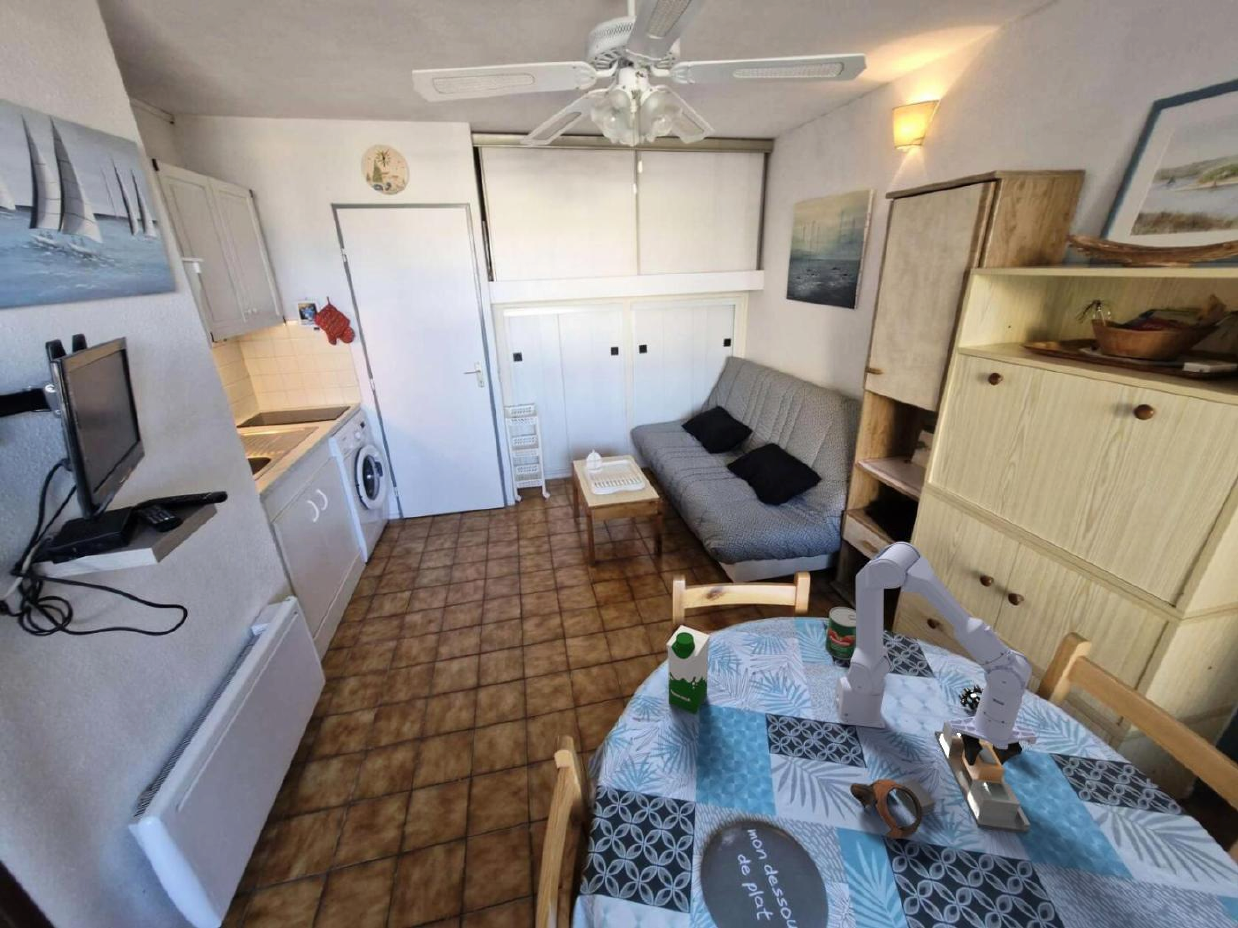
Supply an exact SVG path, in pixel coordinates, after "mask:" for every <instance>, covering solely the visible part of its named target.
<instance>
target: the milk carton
mask: <svg viewBox="0 0 1238 928" xmlns="http://www.w3.org/2000/svg"><path fill="white" fill-rule="evenodd" d="M710 638H711V635H709V634H707V633H705V632H702V631H698V630H696V629H693V628H691V627H688V626H686V625H685V626H684V625H682V624H681V625H680V626H679V627H678V629H677V630H676V631H675V632H673V635H672V636H671V638H670V639H669V640H668V641H667V643H666V649H667V654H668V655H667V656H668V657H667V663H668V669H667V670H668V672H667V673H668V703H669V704H671V705H673V706H675V707H677V708H681V709H682V710H683V711H687V712H688V711H689V712H688V713H691V714H693V715H696V713H698V710H699V709H700V706H701V705H702V703H703V701H704V700H705V698H706V697H707V696H708V695H707V694H708V676H709V675H708V672H709V670H708V669H709V665H708V664H709V649H710Z"/></svg>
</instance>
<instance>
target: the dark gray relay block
mask: <svg viewBox="0 0 1238 928" xmlns="http://www.w3.org/2000/svg"><path fill="white" fill-rule="evenodd" d="M898 784H899V785H902V786H905V787H907V788H908V789H910V790H911V791H912V792H913V793H914V794H915V795H916V797H917V798H918V800H919V802H920V805H921V807H922V812H923V817H924V816H926V815H929V814H932V813H934V810H935V807H936V804H937V803H936V800H935V799H934V798H933V797H932V796H931V795H930V793H929V792H928V791H927V790H926V789H925V788H924V787H923V786H922V784H921V783H920V782H919V781H918V780H917V779H916V778H915V777H913V778H911V779H908V780H904V781H902V782H899V783H898ZM895 795H896V796H897V798H898V799H899V800H900V801H901V802H902V804H904V806H905V807H906V809H907V810H908V811H909V812H910V813H911V814H912V816H913V817H914V818H915V819H916V807H915V804H914V802H913V800H912V799H911V798H910V796H909V795H908V794H907V793H905V792H904V791H902V790H899V789H895Z"/></svg>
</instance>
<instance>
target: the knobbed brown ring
mask: <svg viewBox="0 0 1238 928" xmlns="http://www.w3.org/2000/svg"><path fill="white" fill-rule="evenodd" d="M849 787H850V788H849V789H850V790H849V791H850V794H851V795H852V796H853V798H855V799H856V800H857V801H859V803H860V804H861V806H862V808H863V809H866V808H867V807H868V806H872V805H873V804H874V803H875V802H876V801H877V803H876V804H875V807H876V809H877V811H878V814H879V815H880V817H881V819H882V820H883V822H884V823H885V825H886V826H887V827H888V828H889V829H890V830H889V831H887V832H886V833H885V836H887V837H889V838H890V839H893V840H899V839H906V838H908V837H911V836H912V835H913V834H915V833H916V832H917V830H918V829H919V827H920V826H921V824H922V822H923V818H924V816H923V812H922V807H921V805H920V802H919V800H918V798H917V797H916V795H915V794H914V793H913V792H912V791H911V790H910V789H908V788H907V787H905V786H902V785H899V783H898V782H897V781H896V780H893V779H889V778H880V779H877V780H875V781H873V782H872V783H870V784H869V785H868V784H863V783H857V782H854V783H852V784H851V785H850V786H849ZM896 789H899V790H902V791H904V792H905V793H907V794H908V795H909V796H910V798H911V799H912V800H913V802H914V804H915V807H916V818H915V819H914V822H913V823H912V824H909V825H903V824H902V825H901V827H900V826H898V825H897V824H898V823H897V820H895V818H894V816H892V815H891V813H890V811H889V808H888V804H887V797H888V795H889V793H890V792H893V791H894V790H896Z"/></svg>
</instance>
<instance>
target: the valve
mask: <svg viewBox="0 0 1238 928" xmlns="http://www.w3.org/2000/svg"><path fill="white" fill-rule="evenodd" d="M963 691H964V692H965V693H964V694H963V693H960V694H958V697H959V699H960V704H961V706H962V707H963V708H967V705H968V707H969V708H970V710H972V711H975V710H977V708H978V705H979V702H980V698H981V696H979V695H978V694H980V695H982V691H983V688H981V687H980V686H979V684H975V685H973V688H972V689H970V688H969V687H964V689H963ZM968 699H970V700H968ZM989 744H990V745H991V747H993V743H990V742H989Z"/></svg>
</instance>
